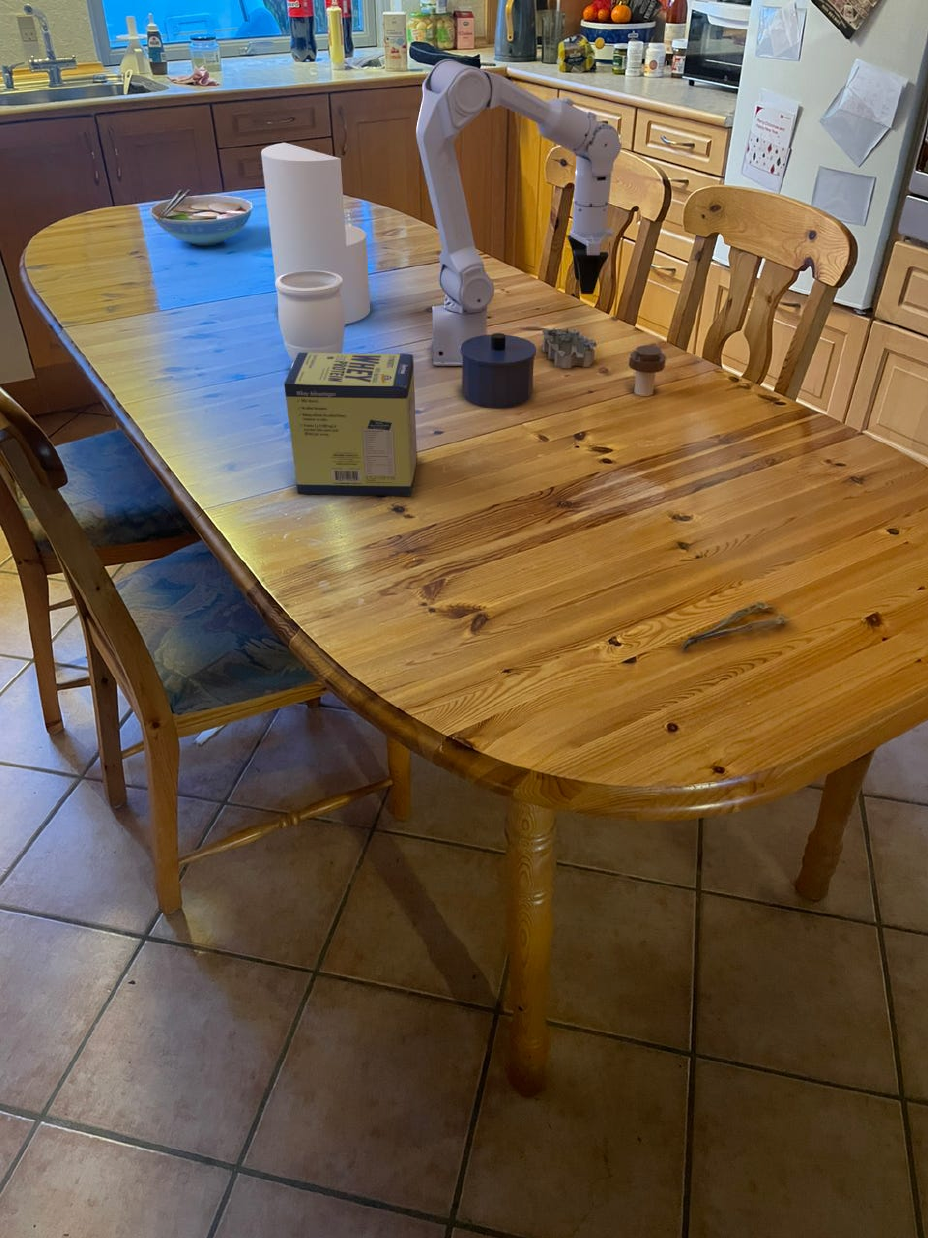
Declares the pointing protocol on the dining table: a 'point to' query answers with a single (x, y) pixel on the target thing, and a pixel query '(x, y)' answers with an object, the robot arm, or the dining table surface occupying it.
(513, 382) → the pot
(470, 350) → the pot lid
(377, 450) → the protein box
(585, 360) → the egg carton
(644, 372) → the mushroom
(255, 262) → the dining table surface
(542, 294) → the dining table surface
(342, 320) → the jar
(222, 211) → the ramen bowl
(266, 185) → the cylinder
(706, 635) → the tongs
